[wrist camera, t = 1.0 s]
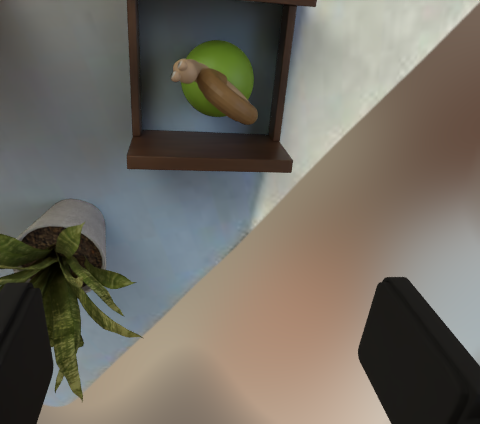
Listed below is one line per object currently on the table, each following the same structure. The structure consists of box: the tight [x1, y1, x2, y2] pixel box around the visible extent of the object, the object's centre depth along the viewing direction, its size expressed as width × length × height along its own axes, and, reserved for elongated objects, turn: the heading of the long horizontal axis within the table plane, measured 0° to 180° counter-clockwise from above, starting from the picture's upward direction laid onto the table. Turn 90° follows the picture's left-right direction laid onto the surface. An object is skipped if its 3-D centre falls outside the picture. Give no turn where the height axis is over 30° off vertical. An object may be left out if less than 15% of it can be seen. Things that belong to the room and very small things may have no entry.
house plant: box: [0, 199, 141, 399], centre depth 30 cm, size 14×14×16 cm
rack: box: [127, 0, 317, 173], centre depth 30 cm, size 12×12×6 cm
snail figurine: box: [171, 40, 258, 125], centre depth 27 cm, size 5×6×12 cm
